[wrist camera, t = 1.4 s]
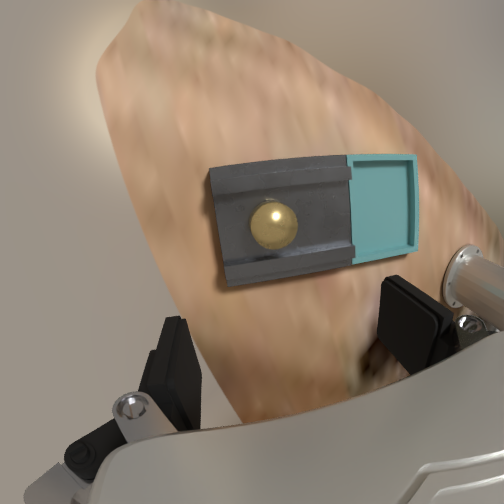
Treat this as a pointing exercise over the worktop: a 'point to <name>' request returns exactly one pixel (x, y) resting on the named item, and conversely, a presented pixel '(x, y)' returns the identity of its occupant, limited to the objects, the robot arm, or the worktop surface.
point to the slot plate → (299, 201)
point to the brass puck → (273, 224)
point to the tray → (383, 205)
